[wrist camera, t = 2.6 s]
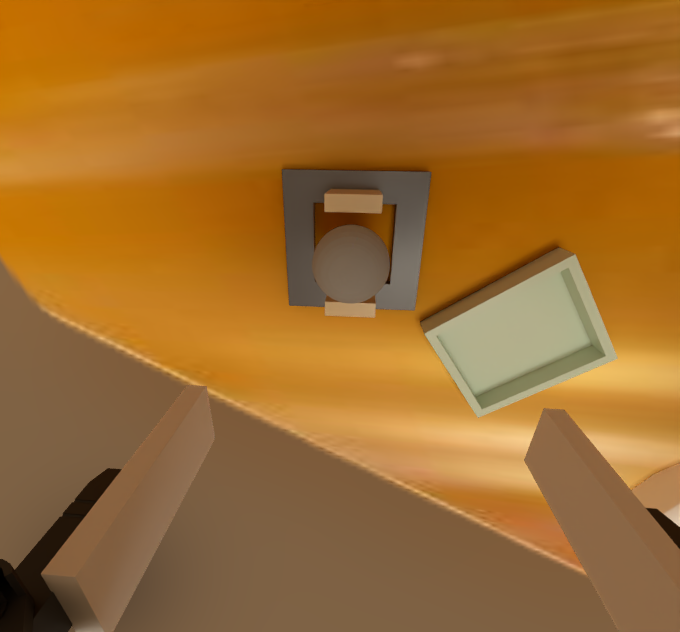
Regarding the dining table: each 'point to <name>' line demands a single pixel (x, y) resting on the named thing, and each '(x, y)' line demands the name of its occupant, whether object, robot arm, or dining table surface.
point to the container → (662, 492)
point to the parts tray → (521, 333)
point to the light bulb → (351, 264)
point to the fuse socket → (355, 197)
